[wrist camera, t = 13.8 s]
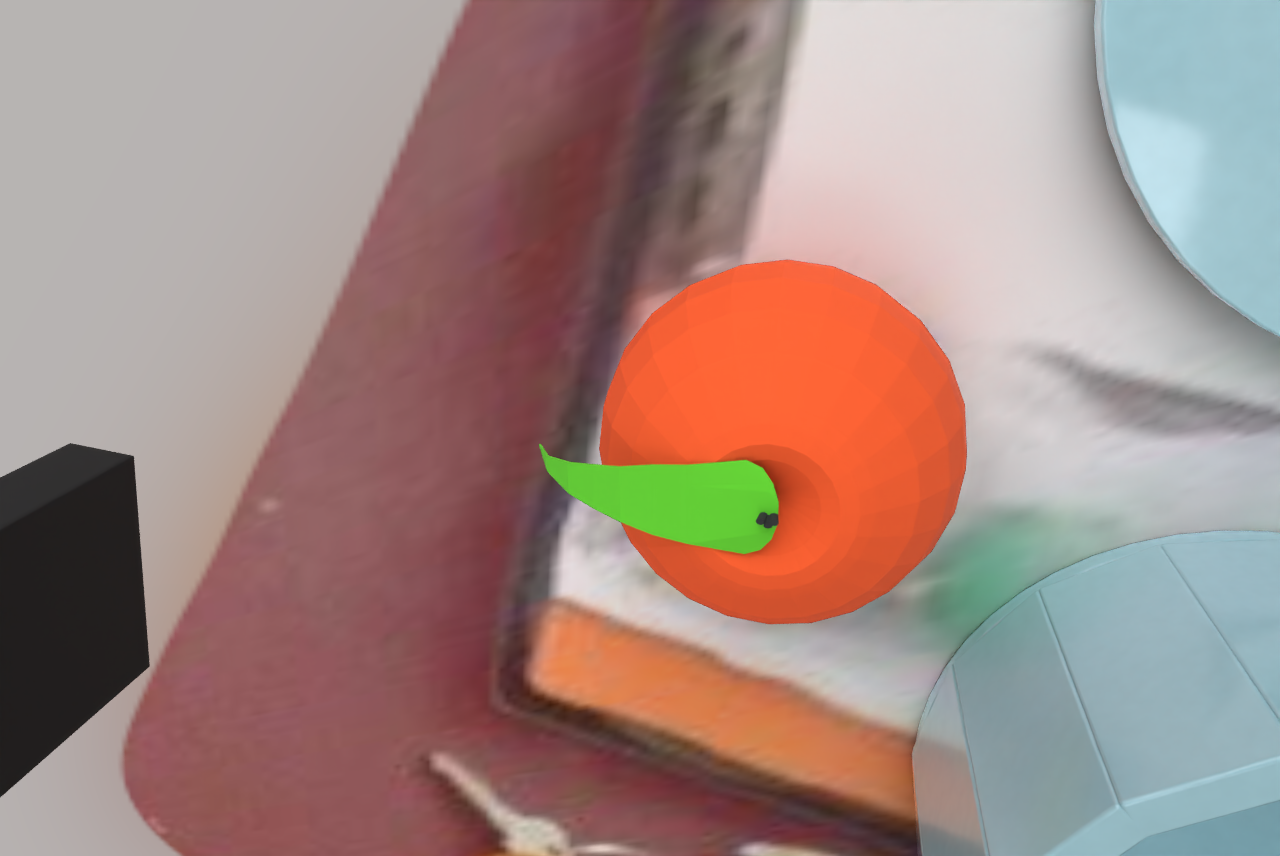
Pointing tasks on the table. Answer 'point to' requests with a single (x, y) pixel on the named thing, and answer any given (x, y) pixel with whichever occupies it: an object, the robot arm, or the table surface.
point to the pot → (1115, 711)
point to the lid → (1201, 135)
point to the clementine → (779, 443)
